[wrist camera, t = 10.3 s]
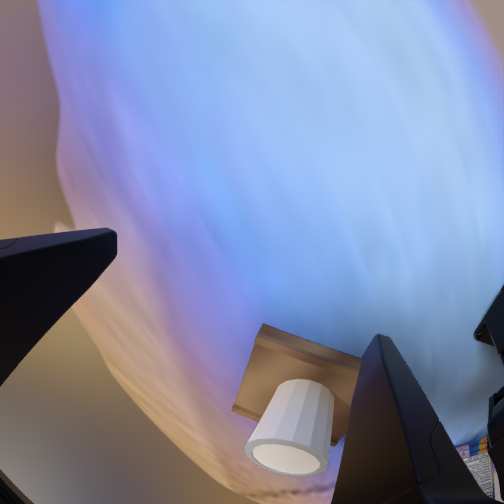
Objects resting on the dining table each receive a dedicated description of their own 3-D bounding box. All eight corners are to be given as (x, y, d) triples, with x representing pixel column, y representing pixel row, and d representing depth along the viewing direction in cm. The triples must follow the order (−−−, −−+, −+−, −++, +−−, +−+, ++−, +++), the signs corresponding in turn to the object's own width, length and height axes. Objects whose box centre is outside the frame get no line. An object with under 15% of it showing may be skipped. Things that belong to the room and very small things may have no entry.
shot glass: (356, 396, 23) (346, 462, 17) (314, 426, 26) (298, 483, 20) (291, 362, 24) (267, 429, 18) (257, 398, 27) (231, 454, 21)
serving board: (392, 368, 22) (393, 382, 21) (337, 434, 28) (334, 446, 26) (263, 323, 24) (256, 335, 23) (236, 399, 30) (231, 410, 29)
